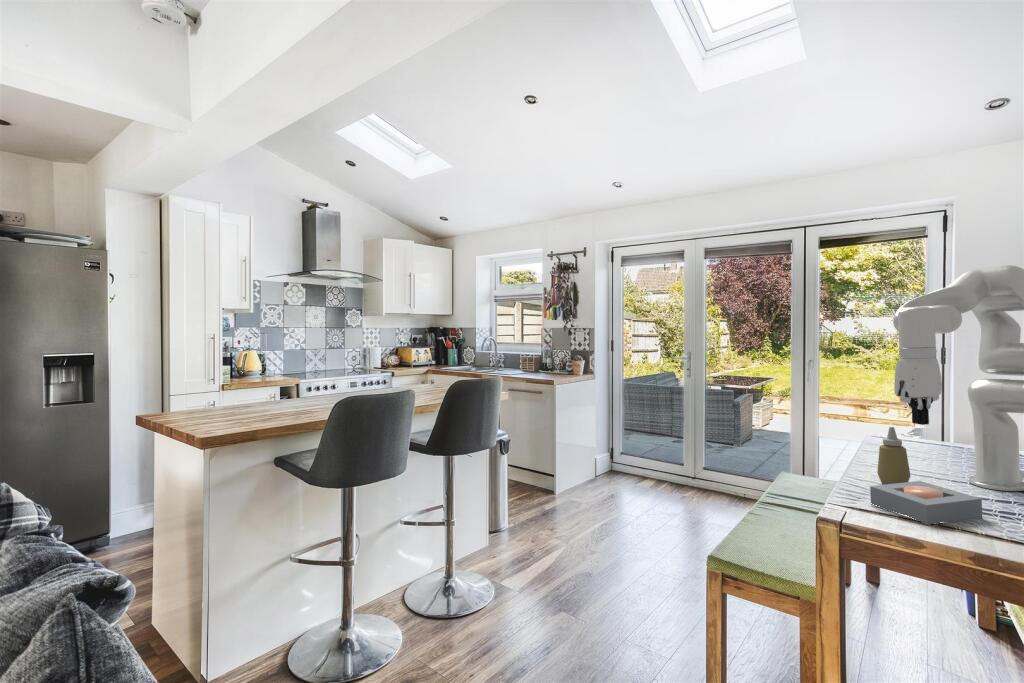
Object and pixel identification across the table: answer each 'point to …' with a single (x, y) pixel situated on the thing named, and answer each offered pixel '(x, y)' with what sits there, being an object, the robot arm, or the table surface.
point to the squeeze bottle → (893, 460)
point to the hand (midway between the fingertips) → (920, 423)
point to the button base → (927, 503)
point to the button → (923, 492)
